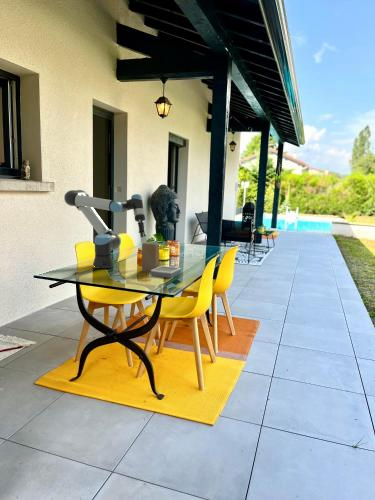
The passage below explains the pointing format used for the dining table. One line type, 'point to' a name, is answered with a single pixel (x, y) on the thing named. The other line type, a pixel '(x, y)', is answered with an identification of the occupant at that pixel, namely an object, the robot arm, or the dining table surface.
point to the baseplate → (165, 271)
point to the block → (150, 256)
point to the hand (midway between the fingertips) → (144, 243)
